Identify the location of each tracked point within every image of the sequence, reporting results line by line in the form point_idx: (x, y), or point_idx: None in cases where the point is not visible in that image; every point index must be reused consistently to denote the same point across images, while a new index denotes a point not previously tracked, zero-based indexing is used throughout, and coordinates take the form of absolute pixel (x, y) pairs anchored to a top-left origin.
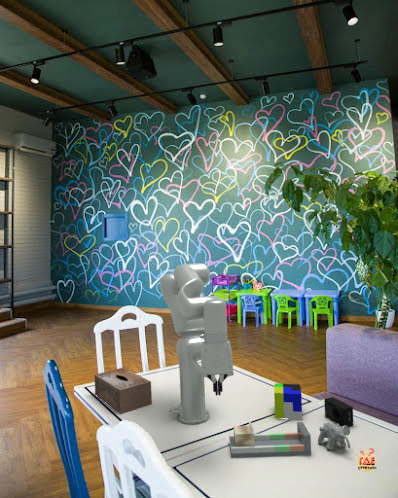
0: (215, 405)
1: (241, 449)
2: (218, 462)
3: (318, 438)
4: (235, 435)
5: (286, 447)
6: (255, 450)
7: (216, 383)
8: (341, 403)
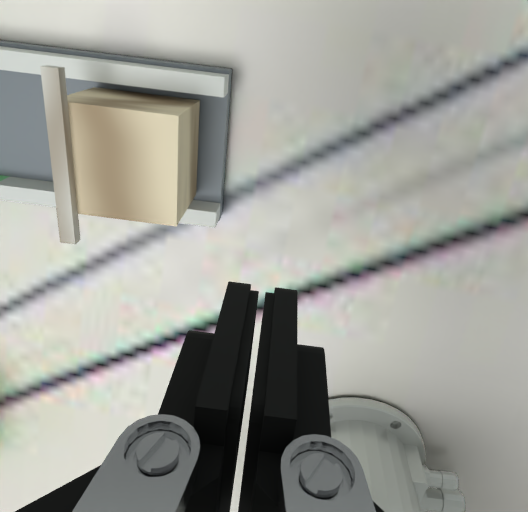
0: (237, 506)
1: (166, 70)
2: (312, 32)
3: None
4: (179, 114)
5: None
6: (87, 57)
7: (271, 419)
8: None
